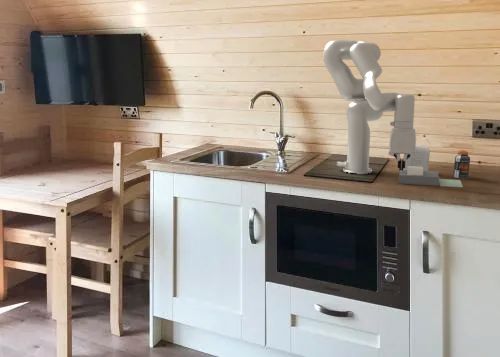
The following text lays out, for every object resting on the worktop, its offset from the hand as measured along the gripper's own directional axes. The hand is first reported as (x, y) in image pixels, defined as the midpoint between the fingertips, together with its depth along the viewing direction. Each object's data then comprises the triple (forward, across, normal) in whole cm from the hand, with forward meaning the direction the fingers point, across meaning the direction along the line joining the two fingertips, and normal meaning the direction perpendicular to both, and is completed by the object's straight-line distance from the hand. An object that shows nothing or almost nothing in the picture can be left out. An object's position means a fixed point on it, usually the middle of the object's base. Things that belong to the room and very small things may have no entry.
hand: (401, 169), depth 217 cm
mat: (+5, +19, 0) cm, 20 cm away
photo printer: (+5, +6, +19) cm, 20 cm away
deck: (+5, +7, 0) cm, 8 cm away
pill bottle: (+5, +24, +14) cm, 28 cm away
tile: (+1, +5, 0) cm, 6 cm away
